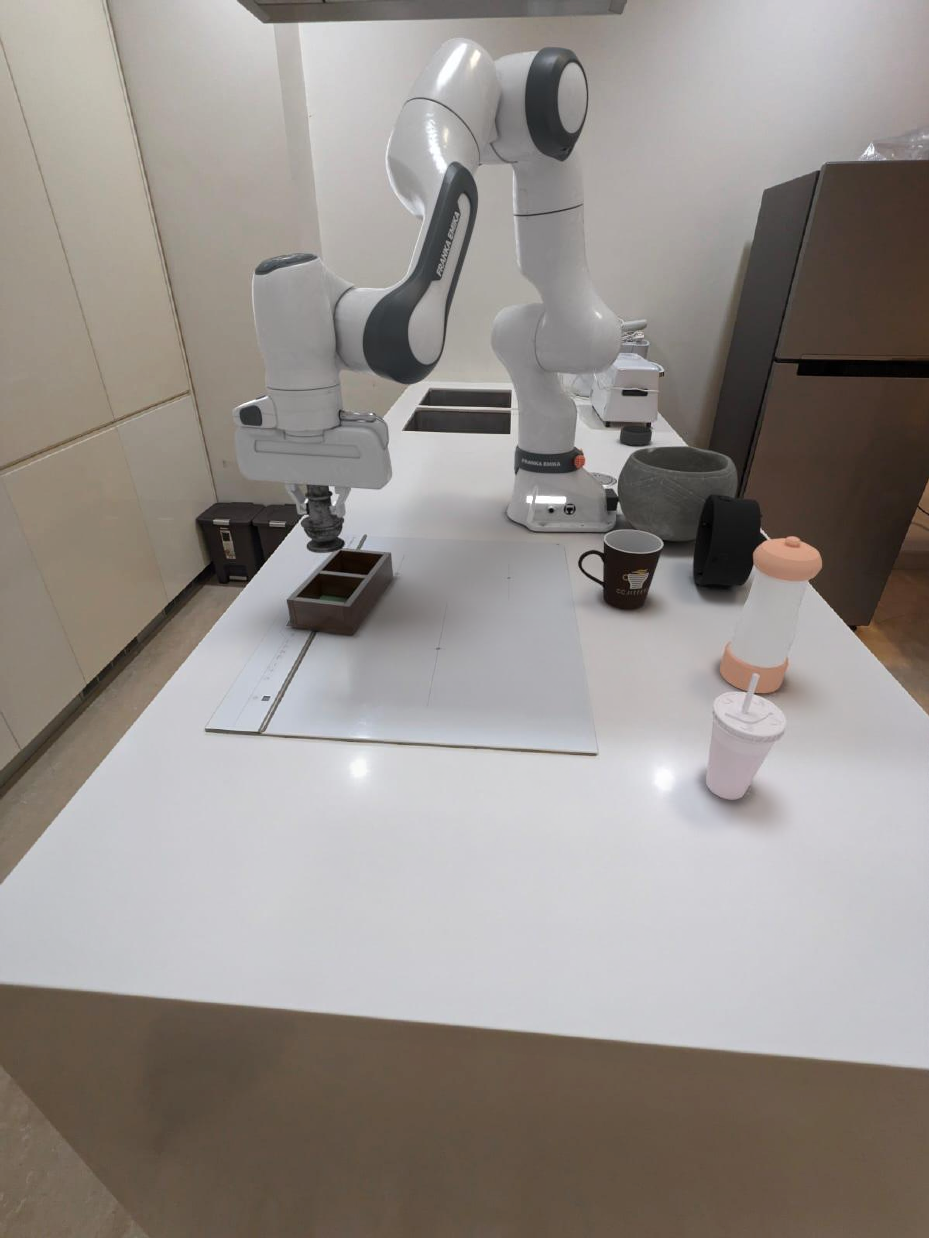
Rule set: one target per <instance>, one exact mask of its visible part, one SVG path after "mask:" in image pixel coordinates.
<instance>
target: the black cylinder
mask: <svg viewBox="0 0 929 1238" xmlns="http://www.w3.org/2000/svg"><path fill="white" fill-rule="evenodd" d="M761 512H762V511H761V507H760V504H759V501H758V500H757V499H753V498H741V497H735V498H731V497H729V496H724V495H717V494H710V495H709V496H708V498H707V499H706V501H705V504H704V506H703V510H702V513H701V516H700V520H699V525H698V529H697V535H696V539H695V542H694V549H693V564H692V571H693V580H694V583H695V584H696V585H701V586H704V587H707V588H713V589H731V588H733V587H742V586H744V585H745V584H746V582H747V581H748V579H749V578H750V576H751V574H752V570H753V568H754V566H755V565H754V561H753V553H754V551H755V550H756V548H757V547H758V546H759V545H761V544H762V543H763V542H764V541H767V540H768V538H767V537H766V536H765V534H763V532H761V531H762V529H761V528H762V517H761V514H762V513H761ZM704 523H705V524H706V525H703V524H704Z"/></svg>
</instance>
